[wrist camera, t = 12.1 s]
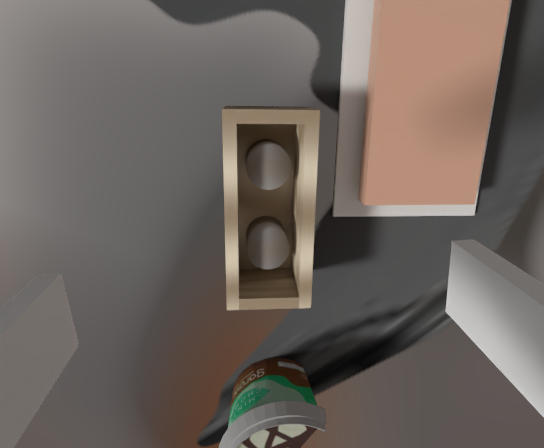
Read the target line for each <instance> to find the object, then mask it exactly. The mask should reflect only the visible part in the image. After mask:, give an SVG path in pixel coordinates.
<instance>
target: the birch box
mask: <svg viewBox="0 0 544 448" xmlns="http://www.w3.org/2000/svg"><path fill="white" fill-rule="evenodd" d="M222 124H223V125H222V127H223V163H224V164H223V168H224V208H225V249H226V290H227V310H249V309H288V308H289V309H290V308H311V293H312V272H313V251H314V230H315V208H316V207H315V206H316V187H317V168H318V147H319V125H320V110H317V109H313V108H308V107H262V106H261V107H259V106H258V107H257V106H225V107H224V108H223V109H222Z"/></svg>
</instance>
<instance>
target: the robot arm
mask: <svg viewBox="0 0 544 448" xmlns="http://www.w3.org/2000/svg"><path fill="white" fill-rule="evenodd" d="M446 313H447V314H448V315H449V316H450V317H451V318H452V319H453V320H454V321H455V322H456V323H457V324H458V325H459V327H461V329H462V330H463V331H464V332H465V333H466V334H467V335H468V336H469V337H470V338H471V339H472V341H473V342H474V343H475V344H477V346H478V347H479V348H480V349H481V350H482V351H483V352H484V353H485V355H486V356H487V357H488V358H489V359H490V360H491V361H492V362H493V363H494V364H495V365H496V366H497V368H499V370H500V371H501V372H502V373H503V374H504V375H505V376H506V377H507V378H508V379H509V380H510V381H511V383H513V385H515V387H516V388H517V389H518V390H519V391H520V392H521V393H522V394H523V395H524V397H525V398H526V399H527V400H528V401H529V402H530V403H531V404H532V405H533V406H534V407H535V408H536V410H537V411H538V412H539V413H540V414H541V415H542V416H543V417H544V284H543V283H541V282H540V281H538V280H537V279H535V278H533V277H532V276H530V275H529V274H527V273H525V272H524V271H522V270H521V269H519V268H518V267H516V266H515V265H513V264H511V263H510V262H508V261H507V260H505V259H504V258H502V257H500V256H499V255H497V254H496V253H494V252H493V251H491V250H490V249H488V248H486V247H485V246H483V245H482V244H480V243H479V242H477V241H475V240H474V239H472V240H460V241H452V247H451V258H450V269H449V280H448V291H447V302H446ZM78 346H79V344H78V340H77V336H76V332H75V328H74V324H73V320H72V316H71V312H70V308H69V304H68V299H67V295H66V291H65V288H64V283H63V279H62V276H61V273H59V274H46V275H37V276H36V277H35V278H33V279H32V280H31V281H30V282H29V283H28V284H27V285H26V286H25V287H23V289H21V291H19V292H18V293H17V294H16V295H15V296H14V297H12V298H11V299H10V300H9V301H8V302H7V303H6V304H5V305H4V306H3V307H2V308H0V448H14V446H15V445H16V443H17V442H18V440H19V438H20V437H21V435H22V434H23V432H24V430H25V429H26V427H27V426H28V424H29V423H30V421H31V420H32V418H33V416H34V415H35V413H36V412H37V410H38V408H39V407H40V405H41V404H42V402H43V400H44V399H45V397H46V396H47V394H48V393H49V391H50V390H51V388H52V386H53V385H54V383H55V382H56V380H57V379H58V377H59V375H60V374H61V372H62V371H63V369H64V368H65V366H66V364H67V363H68V361H69V360H70V358H71V357H72V355H73V353H74V352H75V350H76V349H77V347H78Z"/></svg>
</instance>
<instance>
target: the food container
mask: <svg viewBox="0 0 544 448" xmlns="http://www.w3.org/2000/svg"><path fill="white" fill-rule="evenodd" d="M325 424H326V413H325V409H324V408H321V407H319V406H317V403H316V401H315V398H314V395H313V392H312V390H311V387H310V384H309V382H308V379H307V376H306V373H305V371H304V368H303V365H302V364H300V363H298V362H296V361H294V360H290V359H284V358H269V359H264V360H261V361H258V362H256V363H253V364H251V365H250V366H249V367H247V368H246V369H244V371H243V372H242V373H241V374H240V375H239V377H238V378H237V380H236V382H235V384H234V389H233V395H232V403H231V410H230V418H229V425H228V429H227V431H226V432H225V434H224V435H223V438H222V440H221V442H220V445H219V448H300V447H301V446H302V445H303V444H304V443H305V442H306V440H307V439H308V438H309V437H310V436H311V435H312V434H313V433H314V432H315V430H316V429H317V428H318V429H320V430H322V431H324V432H326V429H325Z"/></svg>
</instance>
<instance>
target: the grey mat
mask: <svg viewBox="0 0 544 448" xmlns="http://www.w3.org/2000/svg"><path fill="white" fill-rule="evenodd" d="M511 3H512V0H510V4H509V10H508V16H507V21H506V27H505V33H504V39H503V44H502V50H501V56H500V62H499V67H498V73H497V79H496V85H495V90H494V96H493V102H492V108H491V113H490V119H489V125H488V131H487V136H486V142H485V148H484V154H483V160H482V165H481V171H480V177H479V183H478V188H477V194H476V200H475V204H469V205H364V204H363V203H361V202H360V201H359V200H358V195H359V183H360V170H361V158H362V146H363V134H364V121H365V109H366V97H367V84H368V72H369V60H370V47H371V35H372V23H373V10H374V0H345V15H344V31H343V48H342V64H341V80H340V96H339V113H338V130H337V146H336V161H335V162H336V163H335V178H334V195H333V210H332V216H333V217H361V216H469V215H475V209H476V203H477V197H478V192H479V186H480V180H481V174H482V169H483V163H484V157H485V152H486V146H487V140H488V134H489V129H490V123H491V117H492V112H493V106H494V100H495V94H496V89H497V83H498V77H499V72H500V66H501V60H502V54H503V49H504V43H505V37H506V31H507V26H508V20H509V14H510V9H511Z"/></svg>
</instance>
